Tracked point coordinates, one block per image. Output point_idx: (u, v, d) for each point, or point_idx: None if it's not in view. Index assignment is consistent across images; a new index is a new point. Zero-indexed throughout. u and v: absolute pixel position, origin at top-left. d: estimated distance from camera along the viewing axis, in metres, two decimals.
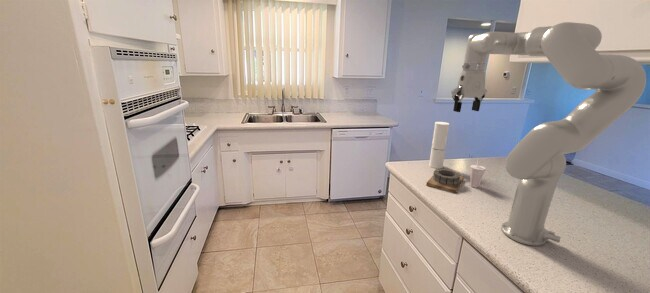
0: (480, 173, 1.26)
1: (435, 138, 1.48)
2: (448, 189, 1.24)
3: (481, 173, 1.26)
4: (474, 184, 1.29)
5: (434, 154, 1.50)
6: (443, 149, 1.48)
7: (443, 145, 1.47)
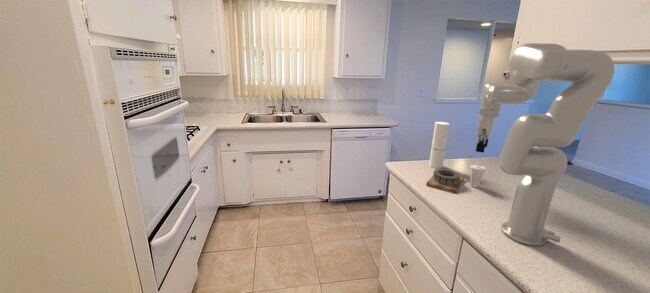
0: (480, 173, 1.26)
1: (435, 138, 1.48)
2: (448, 189, 1.24)
3: (481, 173, 1.26)
4: (474, 184, 1.29)
5: (434, 154, 1.50)
6: (443, 149, 1.48)
7: (443, 145, 1.47)
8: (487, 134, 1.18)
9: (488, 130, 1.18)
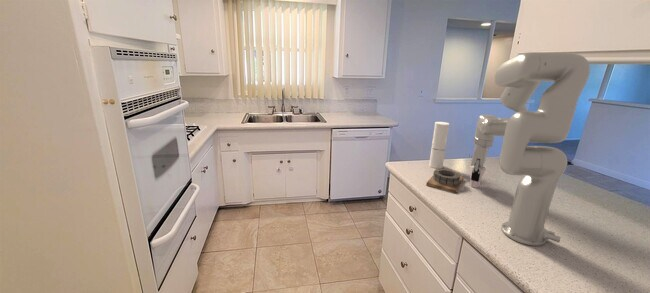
0: (480, 173, 1.26)
1: (435, 138, 1.48)
2: (448, 189, 1.24)
3: (481, 173, 1.26)
4: (474, 184, 1.29)
5: (434, 154, 1.50)
6: (443, 149, 1.48)
7: (443, 145, 1.47)
8: (481, 165, 1.22)
9: (482, 160, 1.22)
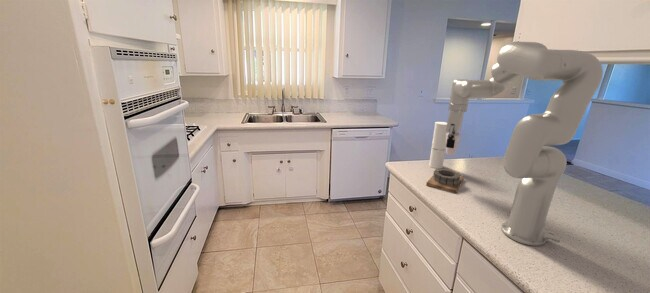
0: (455, 140, 1.24)
1: (435, 138, 1.48)
2: (448, 189, 1.24)
3: (456, 140, 1.24)
4: (450, 151, 1.27)
5: (434, 154, 1.50)
6: (443, 149, 1.48)
7: (443, 145, 1.47)
8: (455, 130, 1.21)
9: (456, 125, 1.20)
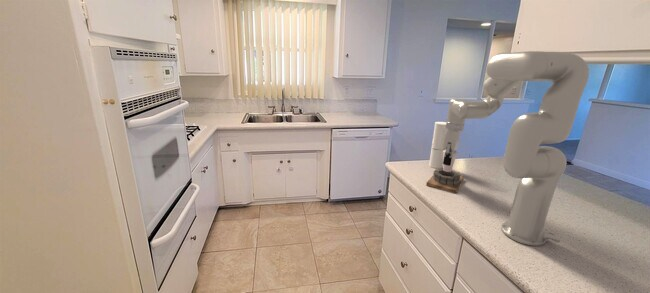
0: (452, 157, 1.27)
1: (435, 138, 1.48)
2: (448, 189, 1.24)
3: (453, 157, 1.27)
4: (446, 168, 1.30)
5: (434, 154, 1.50)
6: None
7: None
8: (452, 149, 1.23)
9: (453, 143, 1.23)
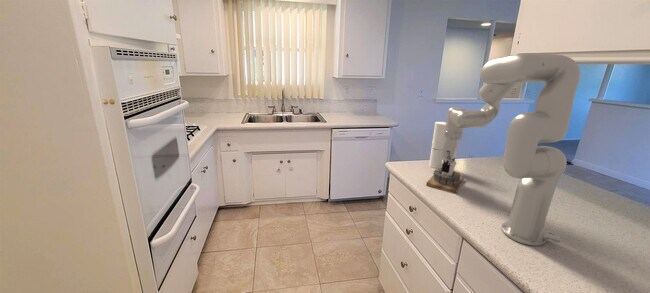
0: (451, 167, 1.28)
1: (435, 138, 1.48)
2: (448, 189, 1.24)
3: (452, 167, 1.28)
4: None
5: (434, 154, 1.50)
6: None
7: (443, 145, 1.47)
8: (451, 155, 1.24)
9: (452, 152, 1.24)
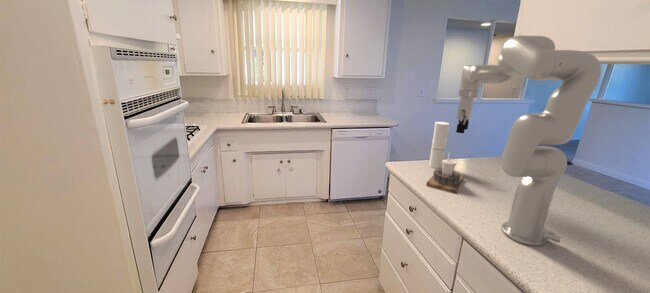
0: (451, 167, 1.28)
1: (435, 138, 1.48)
2: (448, 189, 1.24)
3: (452, 167, 1.28)
4: None
5: (434, 154, 1.50)
6: (443, 149, 1.48)
7: (443, 145, 1.47)
8: (466, 115, 1.21)
9: (467, 111, 1.20)
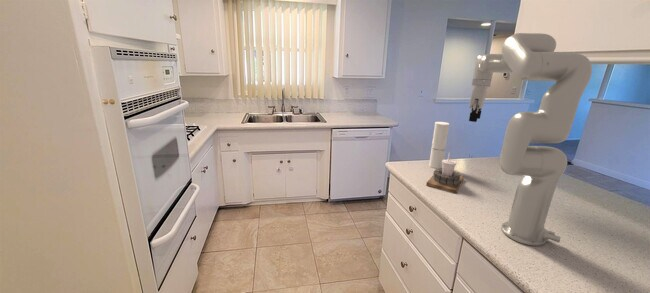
0: (451, 167, 1.28)
1: (435, 138, 1.48)
2: (448, 189, 1.24)
3: (452, 167, 1.28)
4: None
5: (434, 154, 1.50)
6: (443, 149, 1.48)
7: (443, 145, 1.47)
8: (479, 103, 1.23)
9: (480, 99, 1.23)
